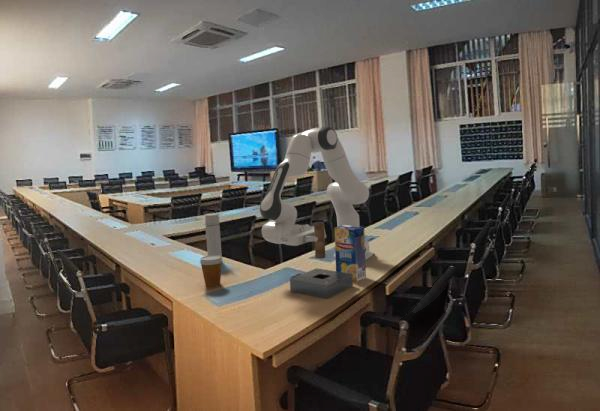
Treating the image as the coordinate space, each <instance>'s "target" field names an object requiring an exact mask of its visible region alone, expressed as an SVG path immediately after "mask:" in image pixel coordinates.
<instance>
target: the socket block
mask: <svg viewBox="0 0 600 411" xmlns="http://www.w3.org/2000/svg"><path fill="white" fill-rule="evenodd" d="M353 282H354V281H353V277H352V274H350V273H343V272H337V271H336V270H335V271H334V270H330V269H329V270H328V269H323V268H319V267H318V268H314V269H311V270H308V271H306V272H304V273H301V274H299V275H296V276H294V277H292V278H289V288H290V292H293V293H297V294H302V295H308V296H313V297H317V298H322V299H327V300H328V299H330V298H332V297H334V296H336V295H338V294H340V293H342V292H344V291H345V290H348V289H349V288H352V287H353V286H354V283H353Z"/></svg>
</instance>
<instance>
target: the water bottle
mask: <svg viewBox="0 0 600 411" xmlns="http://www.w3.org/2000/svg"><path fill="white" fill-rule="evenodd" d="M204 216H205V219H204V221H205V222H204V224H203V225H204V226H205V238H206V249H207V250H206V251H207V256H210V255H219V256H221V258H222V243H221V228H220V227H221V226H220V217H219V216H220V215H219V213H206V214H205V215H204ZM222 259H223V258H222Z"/></svg>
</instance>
